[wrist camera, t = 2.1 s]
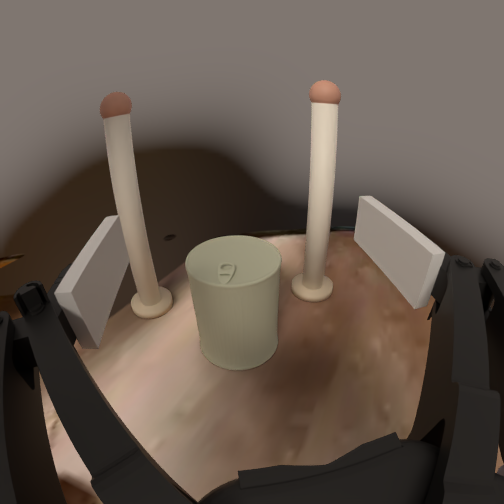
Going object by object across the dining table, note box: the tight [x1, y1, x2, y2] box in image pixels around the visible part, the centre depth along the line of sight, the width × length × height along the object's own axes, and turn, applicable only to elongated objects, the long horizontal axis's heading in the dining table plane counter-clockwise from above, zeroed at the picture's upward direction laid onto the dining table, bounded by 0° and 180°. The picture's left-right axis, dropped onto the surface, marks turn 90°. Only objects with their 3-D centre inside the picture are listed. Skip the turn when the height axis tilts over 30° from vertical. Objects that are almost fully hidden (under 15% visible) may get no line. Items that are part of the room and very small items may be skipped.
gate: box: [100, 80, 341, 319], centre depth 33 cm, size 29×6×28 cm, turn 98°
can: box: [185, 236, 282, 370], centre depth 30 cm, size 9×9×12 cm
